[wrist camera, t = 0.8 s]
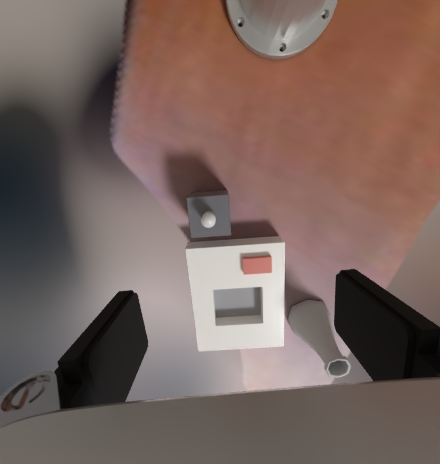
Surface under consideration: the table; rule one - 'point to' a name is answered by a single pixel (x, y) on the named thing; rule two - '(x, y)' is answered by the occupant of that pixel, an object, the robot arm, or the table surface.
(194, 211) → the plug
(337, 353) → the flask
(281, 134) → the table surface
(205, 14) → the table surface
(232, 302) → the socket plate
